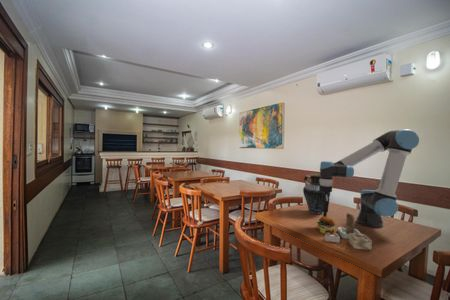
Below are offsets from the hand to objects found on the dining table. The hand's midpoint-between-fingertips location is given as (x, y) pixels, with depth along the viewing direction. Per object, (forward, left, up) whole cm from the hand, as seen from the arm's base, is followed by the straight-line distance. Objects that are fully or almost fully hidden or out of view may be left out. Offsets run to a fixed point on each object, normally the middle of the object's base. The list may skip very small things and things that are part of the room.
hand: (324, 221), depth 141 cm
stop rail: (0, +22, -4) cm, 22 cm away
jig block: (-13, +24, -4) cm, 27 cm away
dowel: (-12, +11, -3) cm, 16 cm away
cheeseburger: (0, +8, -4) cm, 9 cm away
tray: (-12, +11, -4) cm, 16 cm away
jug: (+1, -30, -4) cm, 31 cm away
